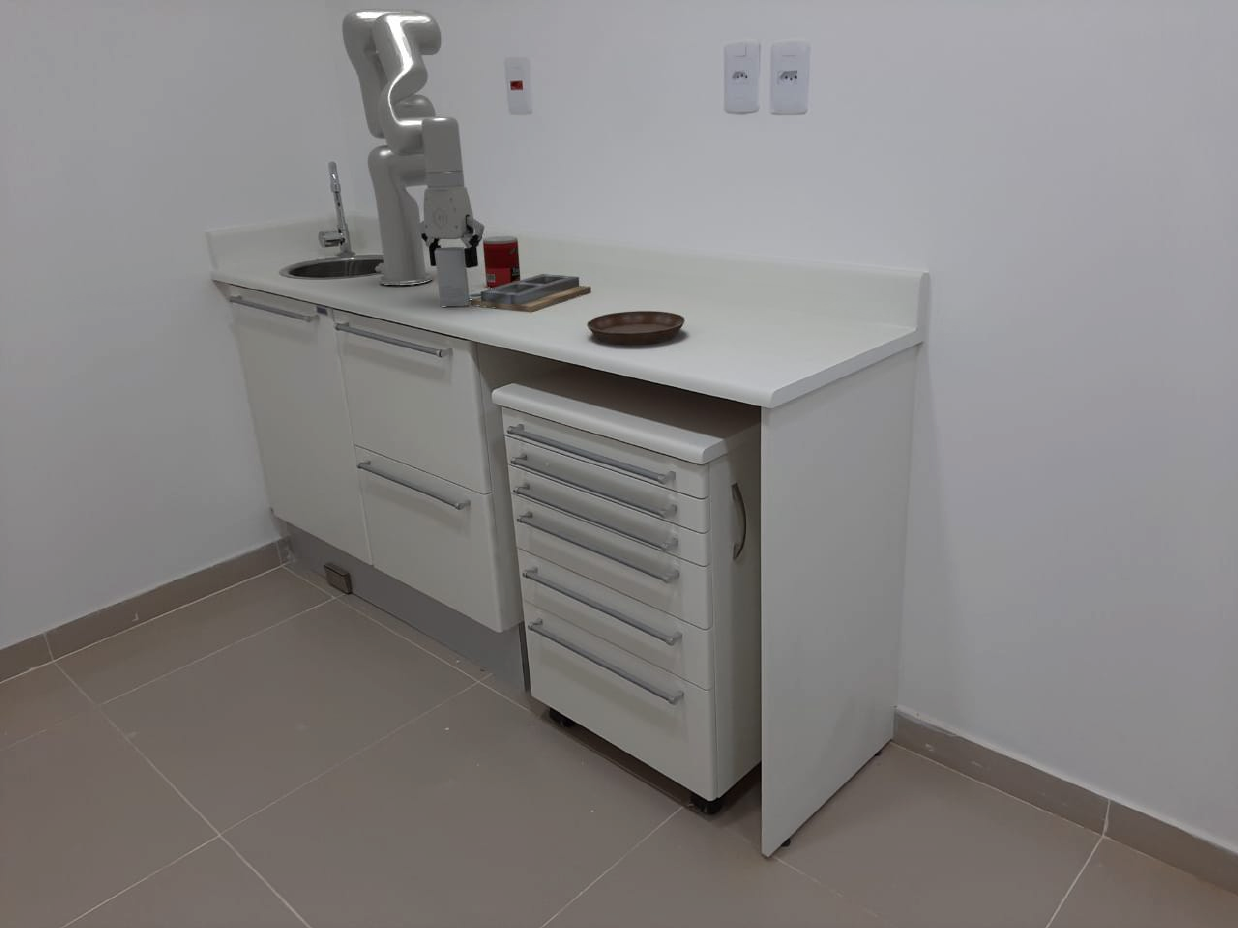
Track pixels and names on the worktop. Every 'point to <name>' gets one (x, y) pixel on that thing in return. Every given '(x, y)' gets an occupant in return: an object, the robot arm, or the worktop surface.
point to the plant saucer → (636, 327)
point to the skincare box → (452, 276)
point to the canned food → (501, 260)
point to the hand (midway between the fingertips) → (454, 266)
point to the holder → (532, 293)
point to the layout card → (476, 293)
